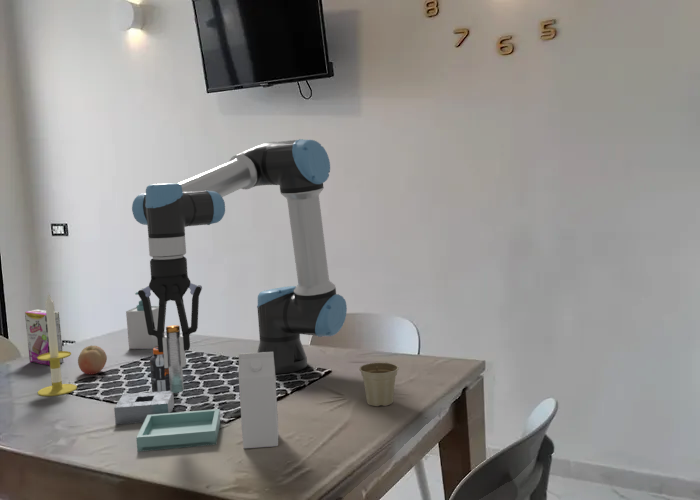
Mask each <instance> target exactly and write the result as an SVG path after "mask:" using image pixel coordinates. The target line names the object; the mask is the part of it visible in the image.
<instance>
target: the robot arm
mask: <svg viewBox="0 0 700 500" xmlns="http://www.w3.org/2000/svg"><path fill="white" fill-rule="evenodd" d="M330 172H331V162H330V159H329V155H328V152H327V151H326V149H325V147H324V146H322V144H321V143H320V142H319V141H317V140H314V139H303V138H302V139H301V138H299V139H293V140H284V141H283V140H282V141H268V142H264V143H262V144H259V145H256V146H254V147H251V148H249V149H247V150H245V151H241V152H240V153H238V154H235V155H233V156H232V157H230V159H229V161H228V162H226V163H223V164H221V165H218V166H217V167H214V168H212V169H209V170H207V171H205V172H202V173H199V174H197V175H195V176H192V177H190V178H188V179H185V180H182V181H180V182H177V183H157V184H156V183H153V184H152V183H151V184H149V185H147V186H146V188H145V192H144V193H140V194H138V195H136V197H135V198H134V199H133V201H132V205H131V212H132V215H133V218H134V219H135V221H136V222H138V224H141V225H142V226H143V225H145V226H147V233H148V234H147V235H148V238H147V240H148V241H147V242H148V253H149V254H148V255H149V257H150V258H151V259H150V260H149V270H150V281H149V284H148V286H146V287H144V288H140V289H139V290H138V291H137V292H138V294H137V295H138V297H139V299H140V300H142V303H143V308H144V314H145V320H146V325H147V331H148V334H149V335H153V336H156V337H157V341H158V346H157V347H158V351H159V352H163V353H164V368H168V367H169V363H168V348H167V334H165V333H166V331H165V330H166V327H165V325H166V315H167V312H166V311H167V303H168V302H169V301H171V302H172V301H173V302H174V303H175V306H176V310H177V315H178V319H179V324H180V325H179V326H180V330H181V333H180V336H179V342H180V357H181V367H182V368H185V367H186V366H187V358H186V357H187V356H186V351H189V350H190V348H191V339H190V335H191V334H193V333H196V332H197V330H198V329H199V328H198V326H199V303H200V302H199V301H200V300H199V299H200V294H201V293H202V290H203V286H202V285H197V284H194V283H192V282H191V280H190V278H189V276H188V262H187V261H188V260H187V258H186V256H185V255H186V254H187V248H186V247H187V245H186V244H187V243H186V229H185V228H186V227H195V226H210V225H213V224H216V223H219V222H221V220H223V218H224V216H225V213H226V205H225V204H226V203H225V202H226V201H225V200H224V198H223V197H226V196H228V195H230V194H232V193H234V192H236V191H239V190H250V189H252V188H255V187H260V186H279V191H280V195H282V196H283V197H284V198H286V200H287V201H286V202H287V208H288V216H289V223H290V231H291V239H292V247H293V254H294V262H295V270H296V276H297V285H296V286H295V285H290V286H281V287H276V288H275V287H274V288H270V289H266V290H265V289H264V290H263V291H260V292H259V293H258V295H257V306H256V308H257V320H258V331H259V332H258V334H259V345H258V348H257V352H256V353H261V352H273V354H274V364H275V375H276V374H286V373H287V374H289V373H294V372H298V371H301V370H303V369H306V367H307V366H308V356H307V354H306V352H305V348H304V347H303V344H302V341H301V335H306V336H307V335H308V336H316V337H318V338H319V337H320V338H321V337H332V336H335V335H337V334H338V333H339V332H340V331H341V329H342V328H343V326H344V323H345V321H346V317H347V310H348V308H347V305H348V304H347V302H346V299H345V298H344V296H342V295H341V294H339V293H338V294H337V288H336V287H337V286H336V284H335V283H333V282H332V281H331V280H330V277H329V270H328V269H329V267H328V260H327V252H326V245H325V244H326V243H325V242H326V241H325V237H324V236H325V235H324V229H323V228H324V226H323V219H322V218H323V217H322V210H321V209H322V208H321V201H320V194H321V192H322V191H323V190H324V183H325V182H326V181H327V180H328V179H329V176H330V174H329V173H330ZM188 290H190V294H191V295H192V298H191V314H190V315H191V317H190V318H191V319H190V321H191V322H190V326H189V323H188V318H187V312H186V309H185V304H184V297H183V296H184V295H185V294H186V292H187V291H188ZM151 292H153V294H154V295H155V296H156V297H157V299H158V306H159V312H158V325H157V329H155V325H154V319H153V313H152V308H151V306H152V304H151V303H152V302H151V298H150V297H151Z"/></svg>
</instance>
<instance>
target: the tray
mask: <svg viewBox="0 0 700 500" xmlns="http://www.w3.org/2000/svg"><path fill="white" fill-rule="evenodd" d="M220 412H221V411H220V408H216V409H203V410H191V411H179V412H172V413H164V414H152V415H147V417H146V419H145V421H144V422H142V425H141V427H140V429H139V431H138V433H137V436H136V449H137V452H147V451H149V452H150V451H159V450H169V449H170V450H171V449H173V450H174V449H182V448H184V449H185V448H193V447H194V448H195V447H206V446H217V443H218V437H219V433H220V432H219V431H220V425H221V413H220Z"/></svg>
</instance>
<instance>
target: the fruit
mask: <svg viewBox="0 0 700 500" xmlns="http://www.w3.org/2000/svg"><path fill="white" fill-rule="evenodd" d="M107 359H108V357H107V353H106V351H105V350H104V349H103V348H101V347H100V346H98V345H88V346H85V347H84V348H83V349H82V350H81V352H80V353H79V354H78V358H77V364H78V368H79V369H80V371H81V372H82V373H84V374H85V375H88V376H89V375H96V374H98V373H99V372H101V371H102V370H103V369H104V367H105V366H106V363H107Z"/></svg>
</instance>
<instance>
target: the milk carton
mask: <svg viewBox="0 0 700 500" xmlns="http://www.w3.org/2000/svg"><path fill="white" fill-rule="evenodd" d="M276 383H277V382H276V374H275V364H274V354H273V352H261V353H257V352H248V353H245V352H244V353H239V354H238V387H239V388H238V389H239V402H240V418H241V420H240V422H241V433H242V435H241V437H242V447H243V449H254V448H255V449H256V448H267V447H268V448H270V447H278V446H279V433H280V432H279V417H278V415H279V413H278V402H277V401H278V398H277V397H278V396H277V384H276Z"/></svg>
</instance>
